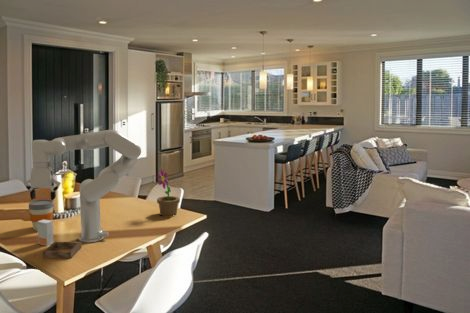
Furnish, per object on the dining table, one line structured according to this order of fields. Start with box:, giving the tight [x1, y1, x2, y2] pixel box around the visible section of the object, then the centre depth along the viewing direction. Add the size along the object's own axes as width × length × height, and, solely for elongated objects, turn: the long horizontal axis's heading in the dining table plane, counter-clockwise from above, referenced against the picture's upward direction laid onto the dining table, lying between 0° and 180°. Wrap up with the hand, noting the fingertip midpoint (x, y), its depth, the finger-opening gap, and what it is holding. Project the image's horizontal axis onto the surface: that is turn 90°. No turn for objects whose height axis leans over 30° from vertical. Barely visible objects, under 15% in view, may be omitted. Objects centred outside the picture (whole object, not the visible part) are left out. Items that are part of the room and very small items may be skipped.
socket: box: [42, 241, 82, 259], centre depth 185 cm, size 13×13×3 cm
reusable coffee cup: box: [28, 199, 54, 232], centre depth 218 cm, size 13×13×15 cm
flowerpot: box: [156, 168, 181, 217], centre depth 247 cm, size 14×14×30 cm
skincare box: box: [37, 219, 55, 247], centre depth 195 cm, size 6×4×12 cm
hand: (43, 199), depth 192 cm, fingers open, 9 cm apart
